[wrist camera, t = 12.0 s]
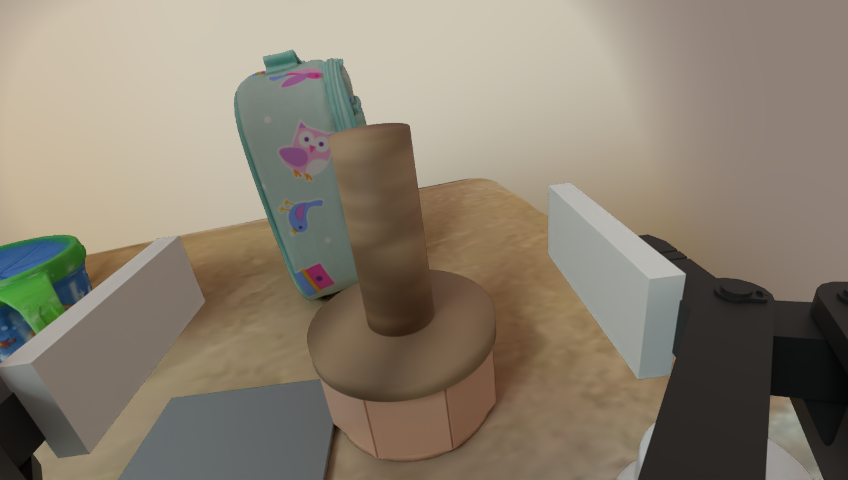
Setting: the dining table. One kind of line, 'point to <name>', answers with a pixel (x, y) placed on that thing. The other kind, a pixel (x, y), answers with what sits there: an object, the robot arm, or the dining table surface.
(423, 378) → the paper towel holder
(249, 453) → the mat
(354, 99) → the lunch box
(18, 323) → the snack cup
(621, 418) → the dining table surface
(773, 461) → the supplement bottle
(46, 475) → the dining table surface
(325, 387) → the bowl
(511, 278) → the dining table surface
